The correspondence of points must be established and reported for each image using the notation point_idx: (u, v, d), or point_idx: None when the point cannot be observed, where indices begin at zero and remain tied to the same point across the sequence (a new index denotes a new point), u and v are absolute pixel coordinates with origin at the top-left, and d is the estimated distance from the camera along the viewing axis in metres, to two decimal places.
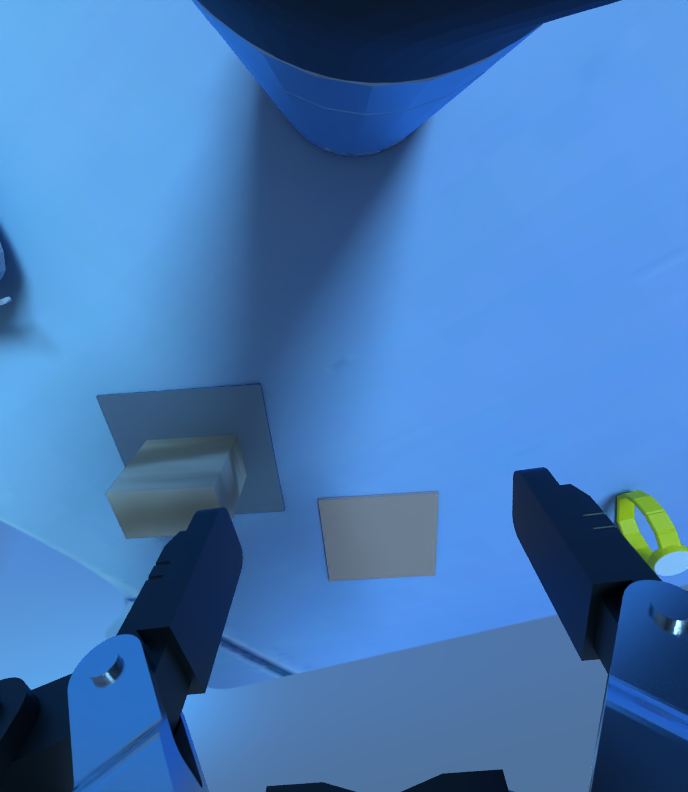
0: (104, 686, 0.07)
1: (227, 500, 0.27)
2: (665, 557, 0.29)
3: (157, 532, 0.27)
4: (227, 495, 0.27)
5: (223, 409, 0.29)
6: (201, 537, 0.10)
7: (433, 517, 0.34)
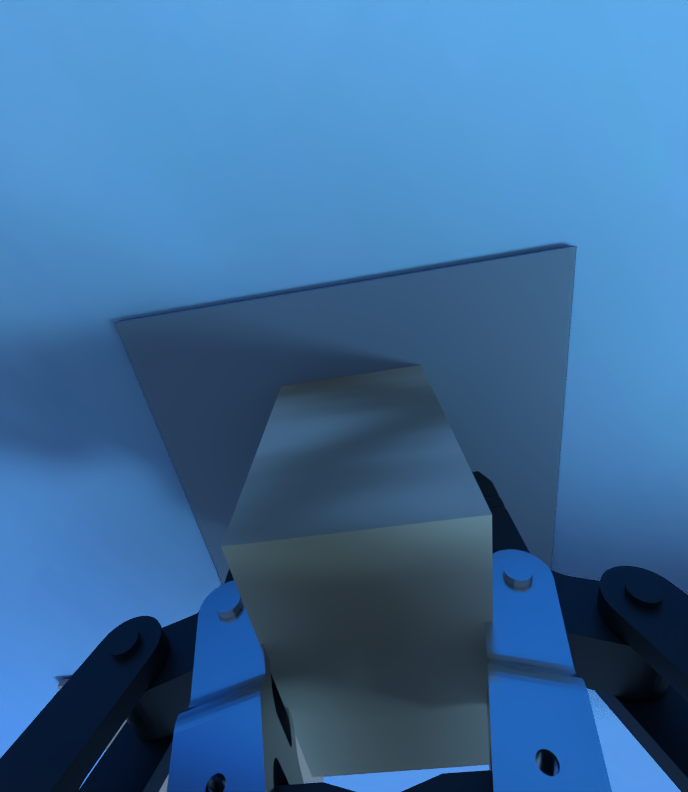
0: (233, 621, 0.07)
1: None
2: None
3: (279, 641, 0.07)
4: None
5: None
6: None
7: None
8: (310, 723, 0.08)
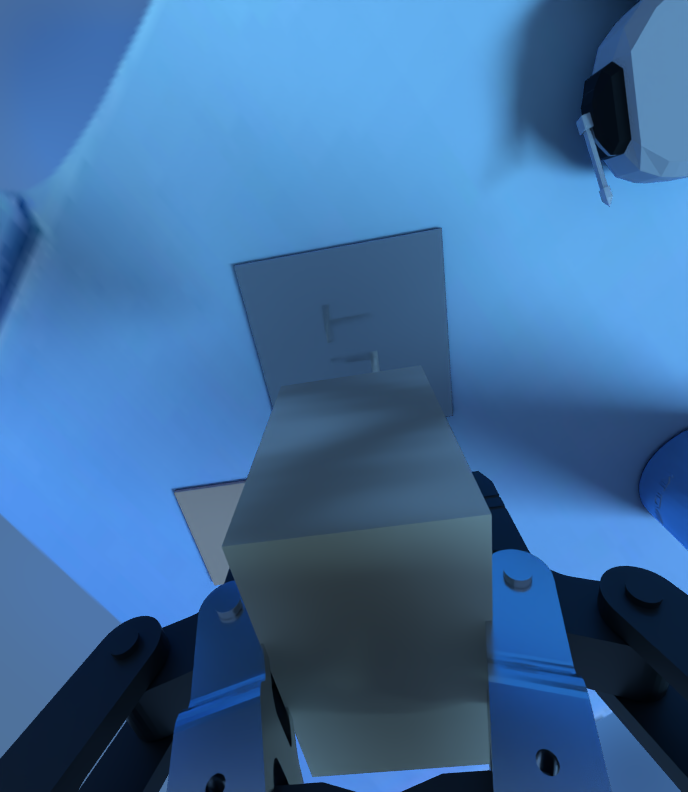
0: (233, 621, 0.07)
1: None
2: None
3: (280, 640, 0.07)
4: None
5: None
6: None
7: None
8: (310, 723, 0.08)
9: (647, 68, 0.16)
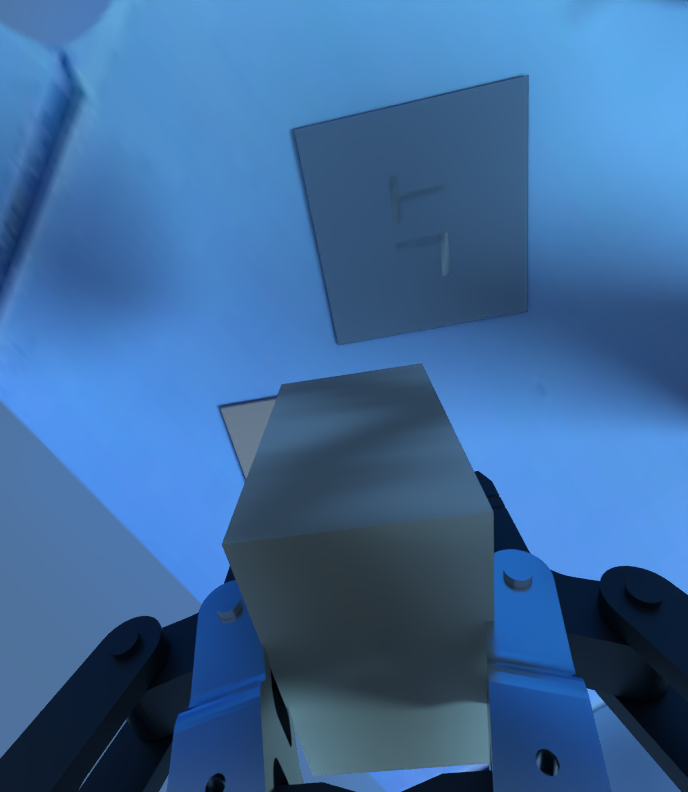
0: (233, 621, 0.07)
1: None
2: None
3: (280, 639, 0.07)
4: None
5: (497, 267, 0.24)
6: None
7: None
8: (311, 722, 0.08)
9: None
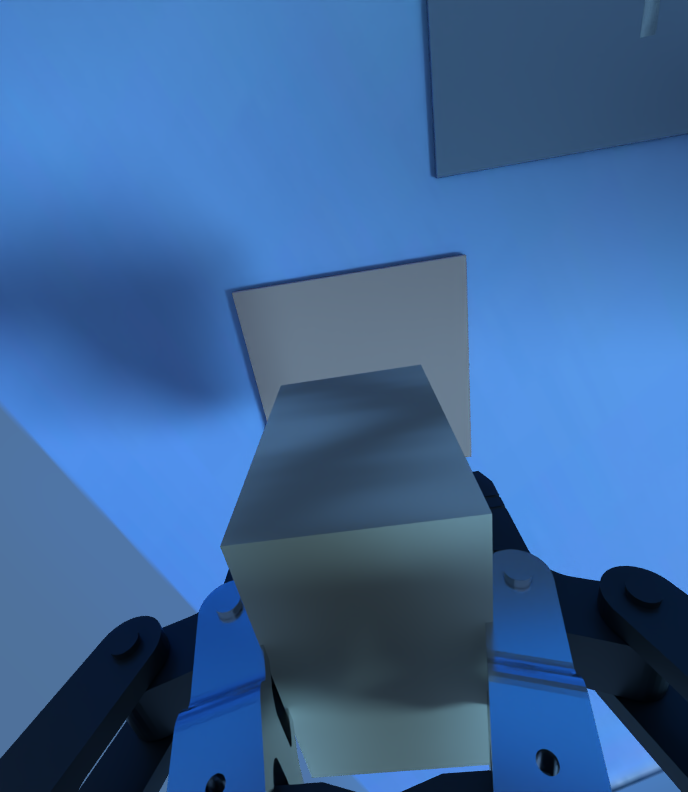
0: (233, 621, 0.07)
1: None
2: None
3: (279, 641, 0.07)
4: None
5: None
6: None
7: None
8: (310, 723, 0.08)
9: None
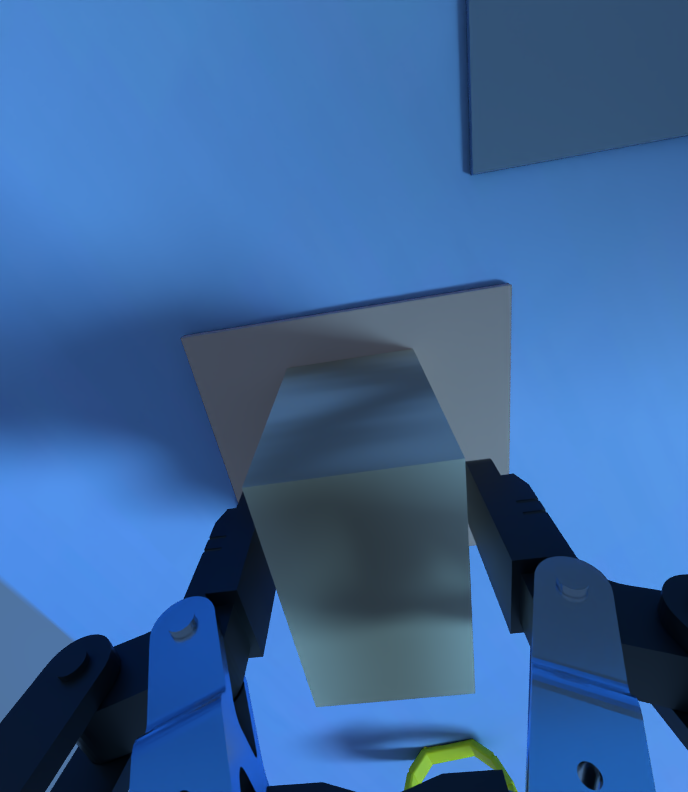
0: (185, 640, 0.07)
1: None
2: None
3: (289, 575, 0.08)
4: None
5: None
6: None
7: None
8: (315, 653, 0.09)
9: None
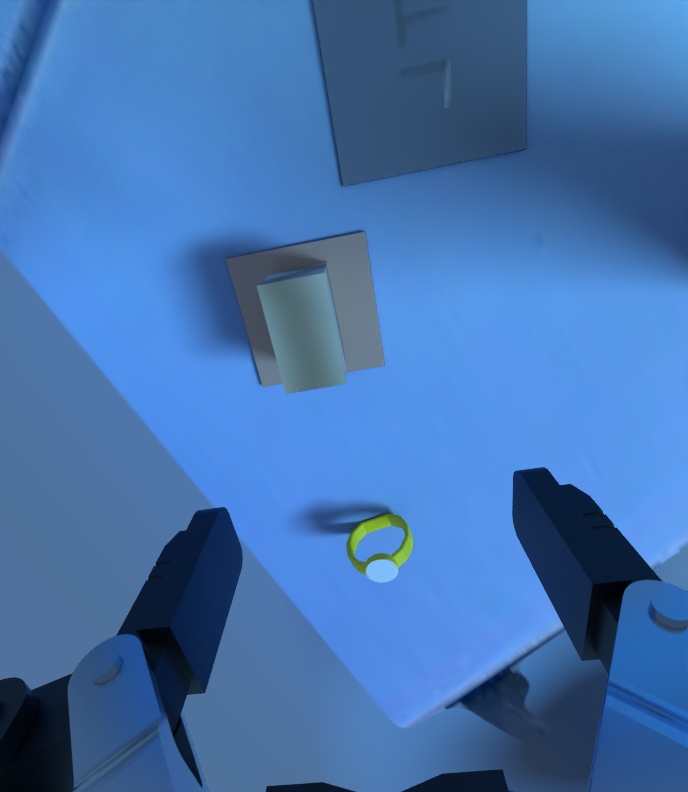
0: (104, 686, 0.07)
1: None
2: (389, 562, 0.33)
3: (272, 322, 0.24)
4: None
5: (497, 98, 0.25)
6: (201, 537, 0.10)
7: (351, 367, 0.32)
8: (283, 362, 0.25)
9: None
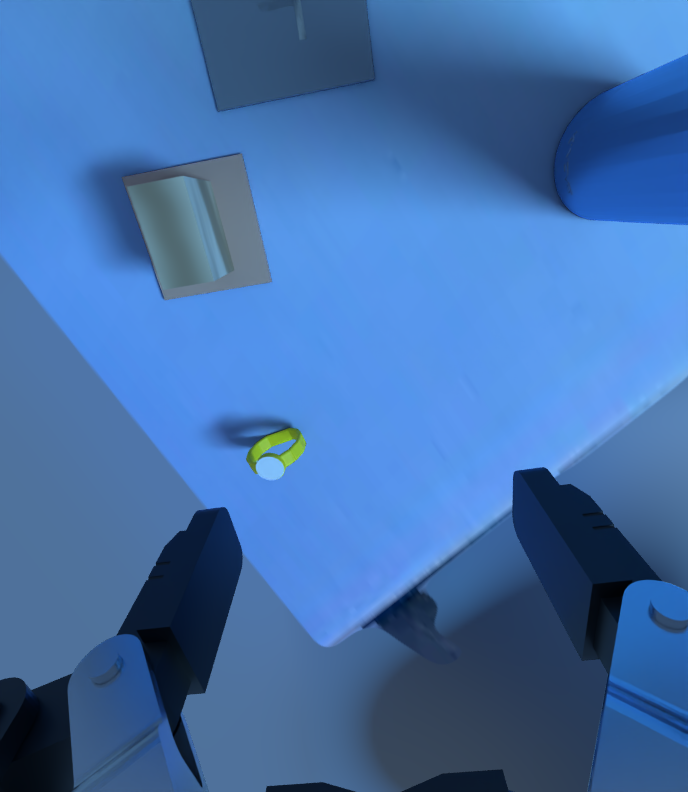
0: (104, 686, 0.07)
1: None
2: (276, 460, 0.37)
3: (144, 221, 0.28)
4: None
5: (344, 31, 0.28)
6: (201, 537, 0.10)
7: (241, 282, 0.36)
8: (157, 259, 0.29)
9: None
